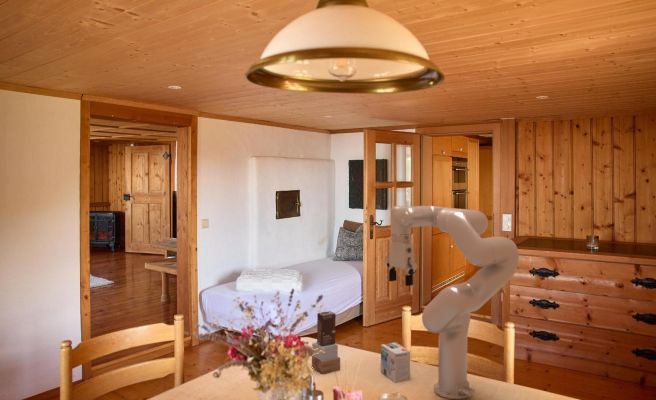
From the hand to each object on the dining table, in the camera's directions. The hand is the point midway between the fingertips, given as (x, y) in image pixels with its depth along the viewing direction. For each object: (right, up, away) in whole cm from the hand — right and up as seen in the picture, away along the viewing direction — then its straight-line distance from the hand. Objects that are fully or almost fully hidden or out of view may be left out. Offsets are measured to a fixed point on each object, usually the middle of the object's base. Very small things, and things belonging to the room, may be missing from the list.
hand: (400, 283), depth 186 cm
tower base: (-29, -34, +2) cm, 44 cm away
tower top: (-29, -29, +2) cm, 41 cm away
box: (-28, -24, +1) cm, 37 cm away
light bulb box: (-3, -34, -5) cm, 34 cm away
